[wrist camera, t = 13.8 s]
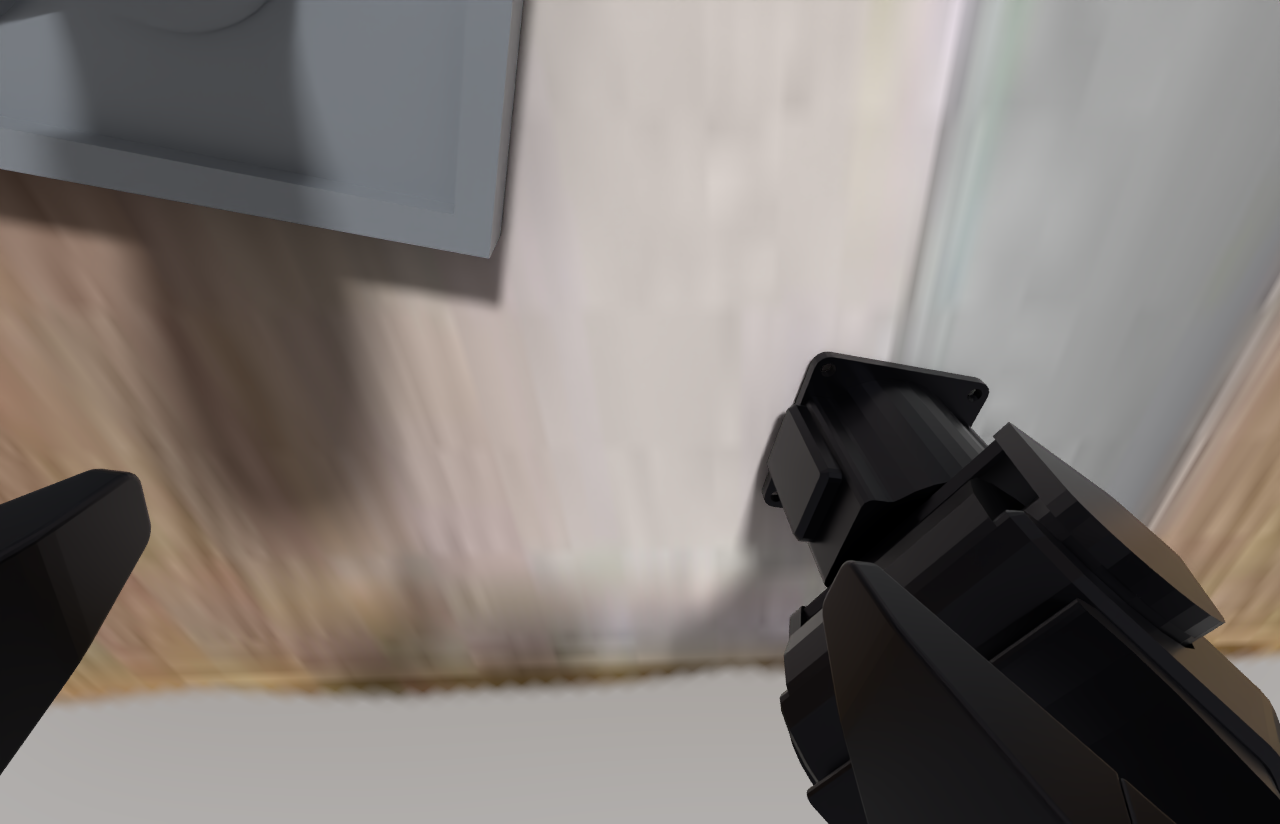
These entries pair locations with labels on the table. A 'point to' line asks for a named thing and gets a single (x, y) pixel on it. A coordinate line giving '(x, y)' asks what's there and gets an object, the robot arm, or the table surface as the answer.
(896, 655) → the robot arm
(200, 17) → the silver metal cup
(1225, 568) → the table surface
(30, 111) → the grey tray
